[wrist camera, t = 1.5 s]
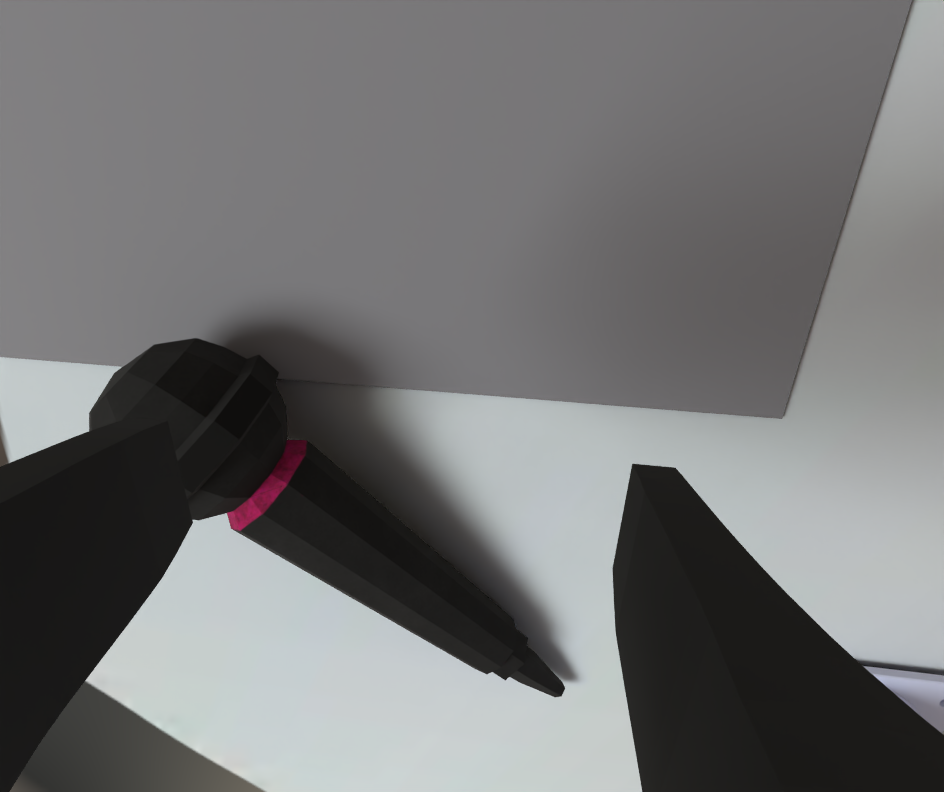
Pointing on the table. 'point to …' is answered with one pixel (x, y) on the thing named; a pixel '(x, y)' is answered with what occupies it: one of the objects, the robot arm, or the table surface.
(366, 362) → the charcoal mat
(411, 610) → the microphone
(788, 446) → the table surface
